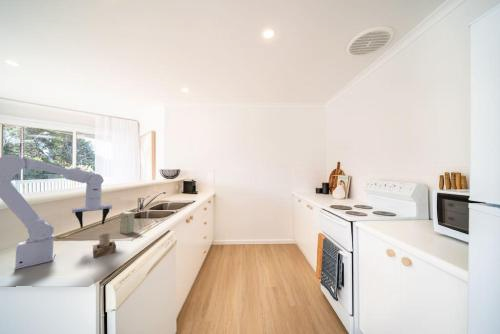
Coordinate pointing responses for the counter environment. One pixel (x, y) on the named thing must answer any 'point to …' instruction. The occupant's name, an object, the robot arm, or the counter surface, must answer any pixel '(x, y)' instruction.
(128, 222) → the skincare box
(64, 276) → the counter surface
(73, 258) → the counter surface
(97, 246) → the walnut holder
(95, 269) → the counter surface
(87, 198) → the robot arm
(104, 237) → the beech peg
